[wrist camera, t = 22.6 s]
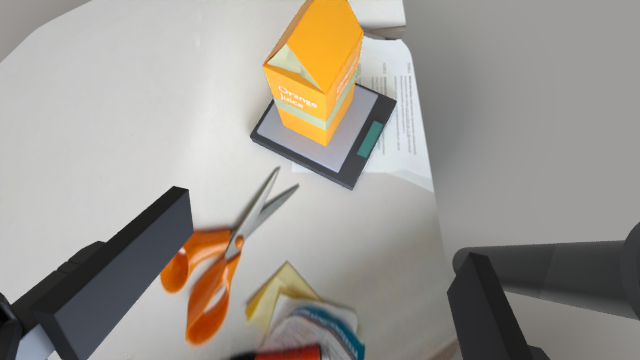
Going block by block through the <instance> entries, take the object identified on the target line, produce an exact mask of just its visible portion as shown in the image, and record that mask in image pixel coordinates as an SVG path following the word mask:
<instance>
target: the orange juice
mask: <svg viewBox="0 0 640 360" xmlns="http://www.w3.org/2000/svg"><path fill="white" fill-rule="evenodd" d="M363 32H364V31H362V29H361V27H360V25H359V23H358V21H357V19H356V17H355V15H354V13H353V11H352V9H351V7H350V5H349V3H348V1H347V0H307V1H306V2H305V3H304V4H303V5H302V6H301V8H300V9H299V11H298V12H297V14H296V15H295V17H294V18H293V20H292V21H291V23H290V24H289V26H288V27H287V29H286V31H285V32H284V34H283V35H282V37H281V38H280V40H279V41H278V43H277V44H276V46H275V47H274V49H273V50H272V52H271V53H270V55H269V56H268V58H267V59H266V61H265V62H264V65H263V69H264V71H265V74H266V77H267V80H268V83H269V86H270V89H271V91H272V94H273V99H274V101H275V104H276V107H277V109H278V111H279V114H280V117H281V120H282V123H283V126H285V127H287V128H289V129H291V130H293V131H295V132H297V133H299V134H301V135H303V136H305V137H307V138H309V139H311V140H314V141H316V142H318V143H320V144H322V145H324V146H326V147H327V145H328V143H329V141H330V140H331V138H332V136H333V134H334V132H335V131H336V129H337V127H338V125H339V124H340V122H341V120H342V118H343V117H344V115H345V113H346V111H347V109H348V108H349V106H350V104H351V102H352V100H353V94H354V88H355V82H356V78H357V71H358V63H359V57H360V50H361V44H362V38H363V34H364V33H363Z"/></svg>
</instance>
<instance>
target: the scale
mask: <svg viewBox="0 0 640 360" xmlns="http://www.w3.org/2000/svg"><path fill="white" fill-rule="evenodd" d="M396 102H397V101H396V100H393V99H391V98H389V97H387V96H384V95H382V94H380V93H378V92H375V91H373V90H371V89H368V88H366V87H364V86H362V85H359V84H357V83H355V88H354V94H353V100H352V102H351V104H350V106H349V108H348V109H347V111H346V113H345V115H344V117H343V118H342V120H341V122H340V124H339V125H338V127H337V129H336V131H335V132H334V134H333V136H332V138H331V140H330V141H329V143H328V145H327V147H326V146H324V145H322V144H320V143H318V142H316V141H314V140H311V139H309V138H307V137H305V136H303V135H301V134H299V133H297V132H295V131H293V130H291V129H289V128H287V127H285V126H283V123H282V120H281V117H280V114H279V111H278V109H277V107H276V104H275V101H274V99H272V101H271V103H270V104H269V106H268V108H267V109H266V111H265V112H264V114H263V116H262V117H261V119H260V120H259V122H258V124H257V125H256V127H255V128H254V130H253V132H252V133H251V135H250V138H251V139H252V141H253V142H256V143H258V144H260V145H262V146H264V147H266V148H268V149H270V150H272V151H274V152H276V153H278V154H280V155H282V156H284V157H286V158H288V159H290V160H292V161H294V162H296V163H298V164H300V165H302V166H304V167H306V168H308V169H310V170H312V171H314V172H316V173H318V174H320V175H322V176H324V177H326V178H328V179H330V180H332V181H334V182H336V183H338V184H340V185H342V186H344V187H346V188H348V189H350V190H352V189H353V187H354V186H355V184H356V182H357V180H358V178H359V176H360V174H361V172H362V170H363V168H364V166H365V164H366V162H367V160H368V158H369V156H370V154H371V152H372V150H373V148H374V146H375V144H376V142H377V140H378V138H379V136H380V134H381V132H382V130H383V128H384V126H385V125H386V123H387V121H388V119H389V117H390V115H391V113H392V111H393V109H394V107H395V105H396Z"/></svg>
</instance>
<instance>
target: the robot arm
mask: <svg viewBox="0 0 640 360" xmlns="http://www.w3.org/2000/svg"><path fill="white" fill-rule="evenodd" d="M193 233H194V231H193V222H192V214H191V206H190V198H189V190H188V189H185V188H180V187H176V186H173V187H172V188H170V189H169V190H168V191H167V192H166V193H164V194H163V195H162V196H161V197H160V198H159V199H157V200H156V201H155V202H154V203H153V204H151V205H150V206H149V207H148V208H147V209H145V210H144V211H143V212H142V213H141V214H140V215H138V216H137V217H136V218H135V219H134V220H132V221H131V222H130V223H129V224H128V225H126V226H125V227H124V228H123V229H122V230H120V231H119V232H118V233H117V234H116V235H115V236H113V237H112V238H111V239H110V240H109V241H107V242H106V243H105V242H101V241H97V242H95V243H93V244H91V245H89V246H87V247H84V248H82V249H81V250H80V251H78V252H77V253H76V254H75V255H73V256H72V257H71V258H70V259H69V260H68V262H65V263H63V264H62V265H61V266H60V267H58V269H57V270H56V271H53V272H52V273H51V274H49V275H48V276H47V277H46V278H44V279H43V280H42V281H41V282H39V283H38V284H37V285H36V286H34V287H33V288H32V289H31V290H29V291H28V292H27V293H26V294H24V295H23V296H22V297H20V298H19V299H18V300H17V301H15V302H14V303H13V304H11V305H10V303H9V302H8V300H7V299H6V298H5V296H4V295H3V294H2V293H0V360H48V359H47V358H48V357H49V356H50V354H51V353H52V352H53V351H54V350H56V352H57V353H58V355H59V356H60V358H61V359H62V360H87V359H88V358H89V357H90V356H91V354H92V353H93V352H94V351H95V350H96V348H97V347H98V346H99V345H100V344H101V342H102V341H103V340H104V339H105V338H106V337H107V335H108V334H109V333H110V332H111V331H112V329H113V328H114V327H115V326H116V325H117V323H118V322H119V321H120V320H121V319H122V318H123V316H124V315H125V314H126V313H127V312H128V310H129V309H130V308H131V307H132V306H133V304H134V303H135V302H136V301H137V300H138V299H139V297H140V296H141V295H142V294H143V293H144V291H145V290H146V289H147V288H148V287H149V285H150V284H151V283H152V282H153V281H154V280H155V278H156V277H157V276H158V275H159V274H160V272H161V271H162V270H163V269H164V268H165V266H166V265H167V264H168V263H169V262H170V261H171V259H172V258H173V257H174V256H175V255H176V253H177V252H178V251H179V250H180V249H181V247H182V246H183V245H184V244H185V243H186V242H187V240H188V239H189V238H190V237H191V236H192V234H193ZM447 295H448V300H449V304H450V308H451V312H452V316H453V320H454V324H455V328H456V332H457V336H458V341H459V345H460V349H461V353H462V357H463V360H550V359H549V357H548V356H547V355H546V354H545V353H544V351H543V350H542V349H541V348H538V347H534V346H529V345H527V343H526V340H525V338H524V336H523V334H522V331H521V329H520V327H519V325H518V323H517V320H516V318H515V316H514V314H513V311H512V309H511V307H510V305H509V302H508V300H507V298H506V296H505V294H504V291H503V289H502V287H501V285H500V282H499V280H498V278H497V276H496V274H495V271H494V269H493V267H492V265H491V262H490V260H489V258H488V256H485V255H480V254H476V253H471V252H470V253H469V254H468V256H467V258H466V260H465V261H464V263H463V265H462V267H461V268H460V270H459V272H458V274H457V275H456V277H455V279H454V281H453V283H452V284H451V286H450V288H449V289H448V291H447Z"/></svg>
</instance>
